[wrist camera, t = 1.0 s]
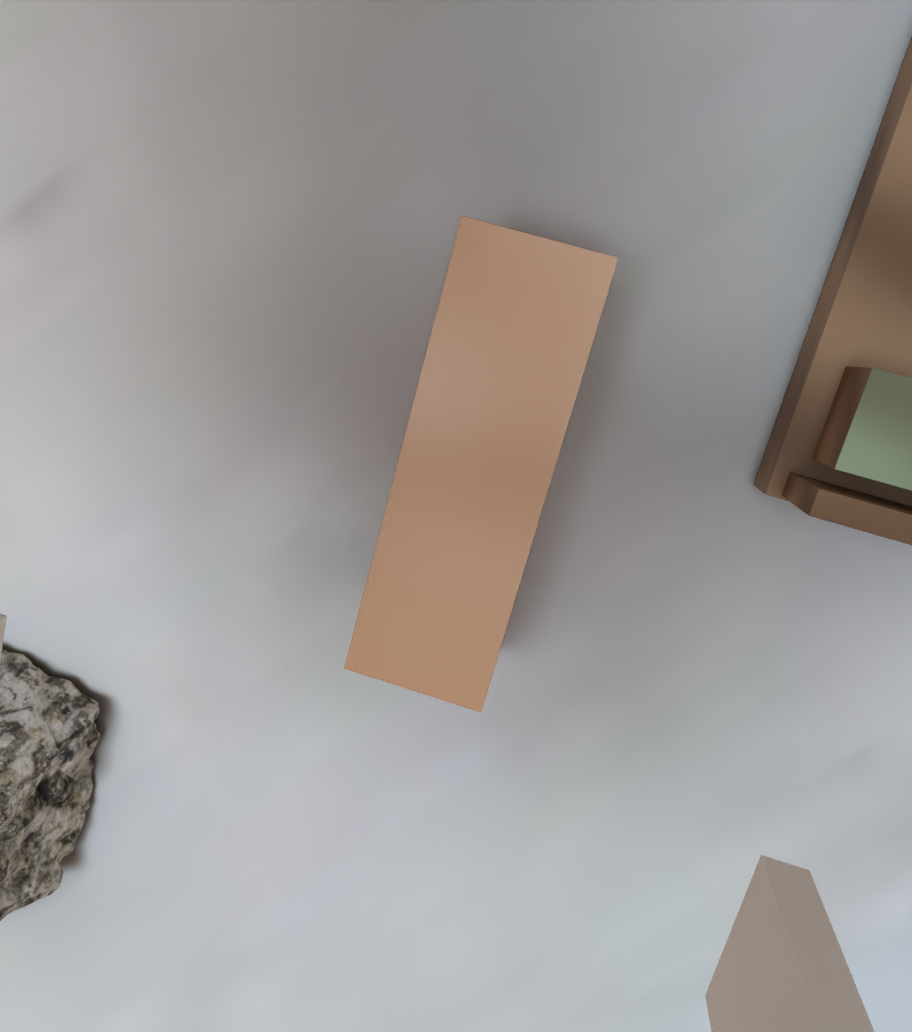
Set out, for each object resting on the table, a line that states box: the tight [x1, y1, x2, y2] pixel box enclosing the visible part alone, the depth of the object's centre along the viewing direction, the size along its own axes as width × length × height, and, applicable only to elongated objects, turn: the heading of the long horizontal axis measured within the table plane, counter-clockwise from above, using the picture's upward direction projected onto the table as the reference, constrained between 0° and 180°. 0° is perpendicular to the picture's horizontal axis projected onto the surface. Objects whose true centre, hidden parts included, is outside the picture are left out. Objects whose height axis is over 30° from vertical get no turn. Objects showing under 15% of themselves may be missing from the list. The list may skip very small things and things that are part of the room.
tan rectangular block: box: [344, 216, 618, 712], centre depth 28 cm, size 14×4×6 cm, turn 165°
